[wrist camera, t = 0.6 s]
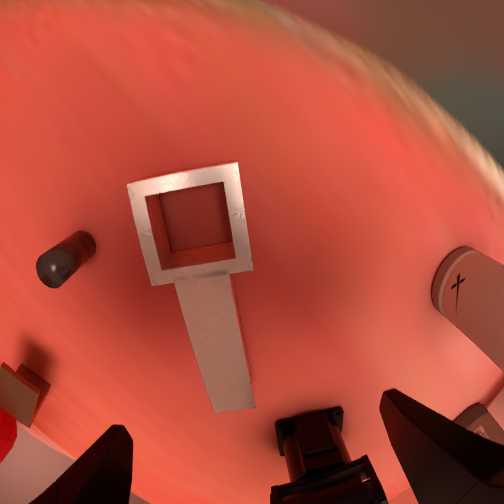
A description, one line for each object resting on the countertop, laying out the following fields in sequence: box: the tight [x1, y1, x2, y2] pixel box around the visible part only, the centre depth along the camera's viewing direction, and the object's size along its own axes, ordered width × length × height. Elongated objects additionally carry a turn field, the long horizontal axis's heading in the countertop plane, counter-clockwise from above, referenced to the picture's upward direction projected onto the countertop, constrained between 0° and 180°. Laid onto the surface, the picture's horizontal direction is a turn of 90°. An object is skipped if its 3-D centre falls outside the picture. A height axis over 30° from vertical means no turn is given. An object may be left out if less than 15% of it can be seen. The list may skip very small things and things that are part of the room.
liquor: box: [453, 403, 504, 445], centre depth 17 cm, size 9×9×30 cm
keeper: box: [0, 362, 51, 428], centre depth 18 cm, size 7×4×5 cm, turn 143°
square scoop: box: [127, 161, 256, 413], centre depth 18 cm, size 16×6×3 cm, turn 8°
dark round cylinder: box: [36, 231, 95, 288], centre depth 15 cm, size 2×2×4 cm
